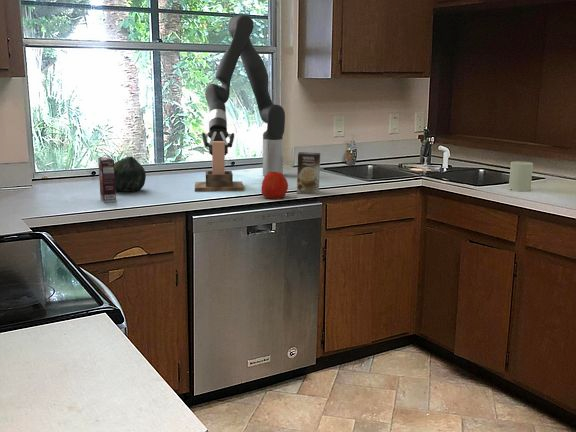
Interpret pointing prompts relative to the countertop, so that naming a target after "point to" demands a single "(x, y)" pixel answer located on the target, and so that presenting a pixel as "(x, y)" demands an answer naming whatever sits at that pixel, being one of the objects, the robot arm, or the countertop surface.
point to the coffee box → (308, 173)
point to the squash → (129, 175)
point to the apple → (274, 185)
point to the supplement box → (107, 179)
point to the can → (520, 175)
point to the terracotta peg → (218, 157)
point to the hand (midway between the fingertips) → (218, 153)
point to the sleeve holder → (219, 183)
